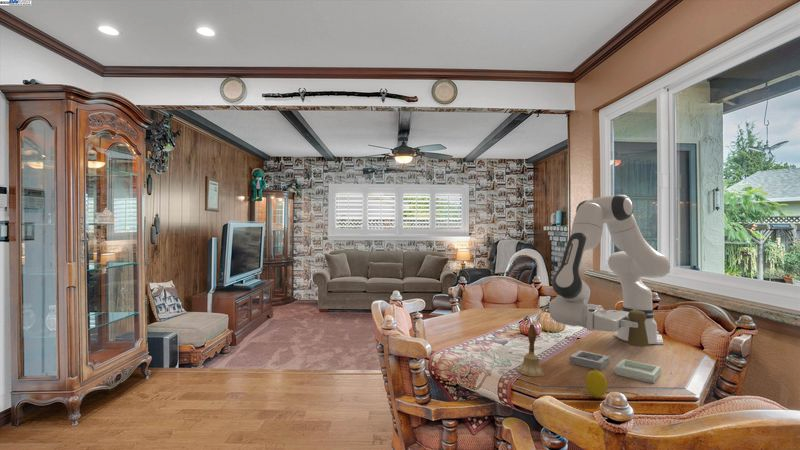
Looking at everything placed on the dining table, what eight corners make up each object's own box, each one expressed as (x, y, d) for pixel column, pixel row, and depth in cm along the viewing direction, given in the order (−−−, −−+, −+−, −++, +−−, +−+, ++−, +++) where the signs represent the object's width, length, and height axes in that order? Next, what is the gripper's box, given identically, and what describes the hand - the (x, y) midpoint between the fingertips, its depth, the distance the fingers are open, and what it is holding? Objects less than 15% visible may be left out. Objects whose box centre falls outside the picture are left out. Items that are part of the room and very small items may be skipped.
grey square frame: (579, 356, 145) (579, 350, 145) (609, 363, 138) (609, 356, 138) (570, 363, 138) (570, 356, 138) (600, 370, 130) (600, 363, 131)
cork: (651, 346, 125) (650, 314, 125) (631, 346, 127) (630, 314, 126) (644, 339, 131) (643, 308, 130) (624, 339, 133) (623, 308, 132)
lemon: (593, 402, 105) (593, 373, 105) (581, 394, 111) (581, 366, 111) (612, 401, 106) (612, 372, 106) (598, 393, 112) (598, 365, 112)
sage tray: (623, 366, 135) (623, 358, 135) (660, 374, 128) (660, 366, 128) (614, 374, 127) (614, 366, 127) (653, 383, 120) (653, 375, 120)
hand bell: (541, 369, 131) (542, 322, 132) (546, 378, 123) (546, 328, 123) (516, 367, 133) (517, 321, 133) (519, 376, 125) (520, 326, 125)
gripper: (604, 321, 144) (646, 327, 135) (585, 331, 130) (632, 339, 120) (604, 304, 144) (646, 309, 135) (585, 312, 130) (632, 319, 120)
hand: (639, 323), depth 127 cm, fingers closed on cork, 3 cm apart
